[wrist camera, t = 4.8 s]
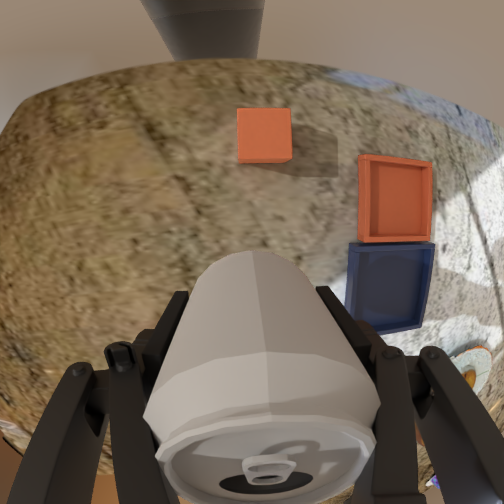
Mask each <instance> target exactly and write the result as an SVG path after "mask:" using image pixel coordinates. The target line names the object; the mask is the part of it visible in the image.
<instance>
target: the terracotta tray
mask: <svg viewBox="0 0 504 504" xmlns="http://www.w3.org/2000/svg"><path fill="white" fill-rule="evenodd" d="M358 177H359V206H358V240H361V241H363V242H401V241H430V233H431V218H432V162H426V161H420V160H413V159H406V158H398V157H390V156H381V155H371V154H363V155H358Z"/></svg>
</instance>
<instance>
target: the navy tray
mask: <svg viewBox="0 0 504 504" xmlns="http://www.w3.org/2000/svg"><path fill="white" fill-rule="evenodd" d="M434 252H435V244H434V243H431V242H428V241H403V242H366V243H349V256H348V272H347V284H346V296H345V306H344V307H345V309H346V310H347V311H348V312H349V314H350V315H351V316H352V318H353V319H354V320H355V321H356V320H364V321H366V322H368V323H369V324H370V325H371V326H372V327H373V328H374V330H375V331H376V332H377V333H378V334H379V335H385V334H391V333H396V332H402V331H407V330H412V329H417V328H421V326H422V322H423V317H424V313H425V308H426V303H427V298H428V293H429V287H430V281H431V275H432V268H433V260H434Z"/></svg>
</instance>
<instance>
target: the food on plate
mask: <svg viewBox="0 0 504 504" xmlns="http://www.w3.org/2000/svg"><path fill="white" fill-rule="evenodd" d="M450 359H451V361H452V362H453V363H454V365H455V366H456V367H457V369H458V370H459V371H460V373H461V374H462V376H463V377H464V378H465V380H466V381H467V383H468V384H469V385H470V387H471V388H472V390H473V391H474V392H475V394H476V395H478V393H479V391H480V390H481V389H482V388H483V386H484V384H485V383H486V381H487V379H488V377H489V373H490V371H491V368H492V356H491V353H489V350H488V349H487V348H484V347H482V345H481V346H476V347H474V348H473V349H468V350H466V352H462V353H461V354H459V355H458V356H457V357H456V358H455V356H453V357H451V358H450ZM433 392H434V391H433ZM415 431H416V442H418V443H419V444H420V445H422V446H425V445H424V443H423V440H422V437H421V435H420V432H419V430H418V428H417V425H416V423H415Z"/></svg>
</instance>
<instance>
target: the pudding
mask: <svg viewBox="0 0 504 504" xmlns="http://www.w3.org/2000/svg"><path fill="white" fill-rule="evenodd" d="M432 484H434V485H435V486H436V487H437V488H440V487H439V484H438V481H437V478H436V475H435V476H434V477H432V478H431V479H430V480H429V481H428V482H427V484H426V486H430V485H432Z"/></svg>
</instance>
